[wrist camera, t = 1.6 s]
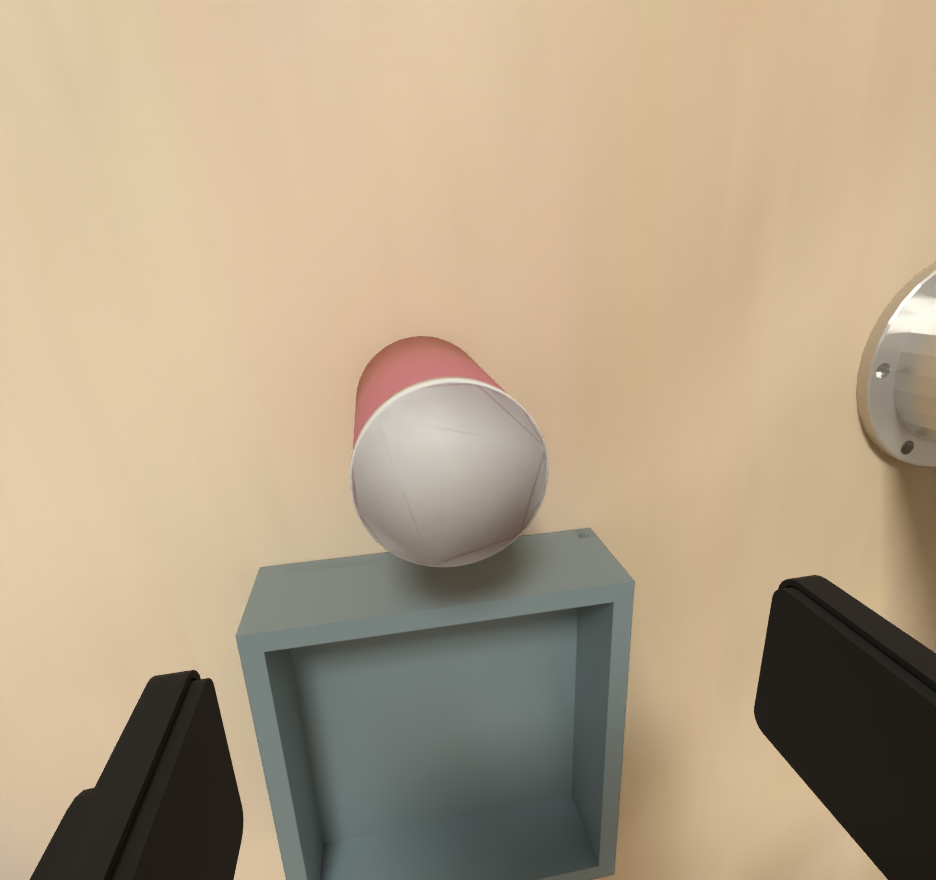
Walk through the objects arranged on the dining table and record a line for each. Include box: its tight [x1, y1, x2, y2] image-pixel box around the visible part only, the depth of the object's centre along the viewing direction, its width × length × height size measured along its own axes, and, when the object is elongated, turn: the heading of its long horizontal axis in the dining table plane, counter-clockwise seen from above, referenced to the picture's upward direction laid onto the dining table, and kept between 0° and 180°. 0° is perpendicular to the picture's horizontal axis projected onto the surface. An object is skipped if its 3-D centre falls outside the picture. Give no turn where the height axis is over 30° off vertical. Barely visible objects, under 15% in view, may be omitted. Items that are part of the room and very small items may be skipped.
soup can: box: [350, 336, 549, 567], centre depth 22 cm, size 6×6×10 cm
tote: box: [236, 528, 635, 880], centre depth 30 cm, size 18×20×6 cm
